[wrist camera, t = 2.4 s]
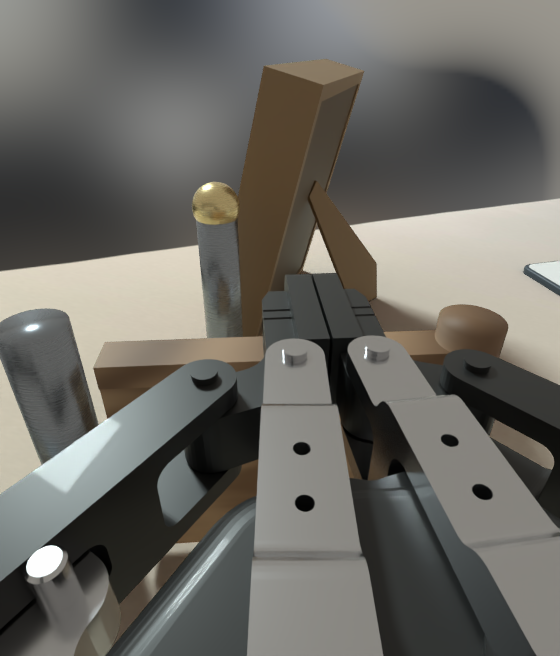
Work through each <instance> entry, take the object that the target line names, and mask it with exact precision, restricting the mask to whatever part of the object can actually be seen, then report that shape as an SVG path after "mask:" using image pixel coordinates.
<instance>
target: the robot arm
mask: <svg viewBox="0 0 560 656" xmlns="http://www.w3.org/2000/svg"><path fill="white" fill-rule="evenodd" d="M262 330H263V353H264V358H263V359H262V360H261V361H260V362H259V363H258V364H256V365H255V366H253V367H251V368H248V369H245V370H242V371H238V372H236V371H235V369H234V368H233V367H232V366H231V365H229V364H228V363H226V362H223V361H220V360H215V359H203V360H197V361H193V362H190V363H188V364H186V365H184V366H182V367H181V368H179V369H178V370H176V371H175V372H174V373H172V374H171V375H169V376H168V377H167V378H165V379H164V380H162V381H161V382H159V383H158V384H157V385H155V386H154V387H152V388H151V389H149V390H148V391H147V392H145V393H144V394H142V395H141V396H139V397H138V398H137V399H135V400H134V401H132V402H131V403H130V404H128V405H127V406H125V407H124V408H122V409H121V410H120V411H118V412H117V413H115V414H114V415H112V416H111V417H110V418H108V419H107V420H105V421H104V422H102V423H101V424H100V425H98V426H97V427H95V428H94V429H93V430H91V431H90V432H88V433H87V434H85V435H84V436H83V437H81V438H80V439H78V440H77V441H75V442H74V443H73V444H71V445H70V446H68V447H67V448H65V449H64V450H63V451H61V452H60V453H58V454H57V455H55V456H54V457H53V458H51V459H50V460H48V461H47V462H46V463H44V464H43V465H41V466H40V467H38V468H37V469H36V470H34V471H33V472H31V473H30V474H28V475H27V476H26V477H24V478H23V479H21V480H20V481H18V482H17V483H16V484H14V485H13V486H11V487H10V488H9V489H7V490H6V491H4V492H3V493H1V494H0V656H560V385H558V384H556V383H553V382H551V381H549V380H547V379H544V378H542V377H540V376H538V375H535V374H533V373H531V372H529V371H526V370H524V369H522V368H520V367H517V366H515V365H513V364H511V363H508V362H506V361H504V360H502V359H499V358H497V357H495V356H493V355H490V354H488V353H485V352H482V351H477V350H471V349H460V350H455V351H452V352H450V353H448V354H447V355H446V356H445V358H444V362H443V365H437V364H431V363H425V362H419V361H415V360H412V358H411V357H410V355H409V354H408V352H407V351H406V349H405V348H404V347H403V346H402V345H401V344H400V343H398V342H397V341H395V340H392V339H390V338H387V337H386V336H385V334H384V332H383V330H382V328H381V326H380V324H379V322H378V320H377V318H376V316H374V312H373V310H372V308H371V306H370V304H369V302H368V300H367V298H366V296H364V295H363V294H361V293H360V292H359V291H357V290H356V289H343V287H342V284H341V282H340V280H339V277H338V275H337V273H322V274H311V275H310V274H291V275H285V282H284V291H269V292H268V293H267V294H266V295H265V297H264V298H263V299H262ZM339 415H340V418H341V422H340V418H339ZM495 419H496V420H498V421H500V422H502V423H503V424H505V425H507V426H509V427H511V428H513V429H515V430H517V431H519V432H520V433H522V434H524V435H526V436H528V437H530V438H532V439H534V440H535V441H537V442H539V443H541V444H543V445H544V446H545V447H547V448H548V449H549V451H550V452H551V453H552V455H553V457H554V467H553V469H552V470H550V469H546V468H544V467H542V466H540V465H538V464H537V463H535V462H533V461H531V460H529V459H528V458H526V457H524V456H522V455H521V454H519V453H517V452H515V451H513V450H512V449H510V448H508V447H506V446H505V445H503V444H501V443H499V442H497V441H496V440H494V439H492V438H490V437H489V435H490V432H491V429H492V426H493V423H494V420H495ZM345 454H346V455H345ZM346 457H347V460H348V462H349V465H350V468H351V471H352V473H353V476H354V478H349V473H348V467H347V461H346ZM258 459H259V460H258ZM255 460H258V480H257V496H254V497H252V498H250V499H247V500H246V501H244V502H242V503H240V504H238V505H237V506H235V507H234V508H233V509H231V510H230V511H228V512H227V513H226V514H225V515H224V516H223V517H222V518H221V519H219V520H218V521H217V522H216V523H215V524H214V525H213V526H212V528H211V529H210V530H209V531H208V532H207V533H206V535H205V536H204V537H203V538H202V539H201V541H200V542H199V543H198V544H197V546H196V547H195V548H194V549H193V550H192V552H191V553H190V554H189V555H188V556H187V558H186V559H185V560H184V561H183V562H182V564H181V565H180V566H179V567H178V569H177V570H176V571H175V572H174V573H173V575H172V576H171V577H170V578H169V579H168V581H167V582H166V583H165V584H164V585H163V587H162V588H161V589H160V590H159V592H158V593H157V594H156V595H155V596H154V598H153V599H152V600H151V601H150V602H149V604H148V605H147V606H146V607H145V608H144V610H143V611H142V612H141V613H140V614H139V616H138V617H137V618H136V619H135V621H134V622H133V623H132V624H131V625H130V627H129V628H128V629H127V630H126V631H125V633H124V634H123V635H122V636H121V637H120V639H119V640H118V641H117V642H116V643H115V645H114V646H113V647H112V645H113V643H114V641H115V639H116V637H117V634H118V631H119V627H120V622H121V612H120V607H119V604H120V603H121V602H122V601H123V599H124V598H125V597H126V596H127V595H128V594H129V593H130V592H131V591H132V590H133V589H134V588H135V587H136V585H137V584H138V583H139V582H140V581H141V580H142V579H143V578H144V577H145V576H146V575H147V574H148V573H149V572H150V570H151V569H152V568H153V567H154V566H155V565H156V564H157V563H158V562H159V561H160V560H161V559H162V558H163V556H164V555H165V554H166V553H167V552H168V551H169V550H170V549H171V548H172V547H173V546H174V545H175V544H176V542H177V541H178V540H179V539H180V538H181V537H182V536H183V535H184V534H185V533H186V532H187V531H188V530H189V529H190V527H191V526H192V525H193V524H194V523H195V522H196V521H197V520H198V519H199V518H200V517H201V516H202V515H203V513H204V512H205V511H206V510H207V509H208V508H209V507H210V506H211V505H212V504H213V503H214V502H215V501H216V499H217V498H218V497H219V496H220V495H221V494H222V493H223V492H224V491H225V490H226V489H227V488H228V487H229V486H230V484H231V483H232V482H233V481H234V480H235V479H236V478H237V477H238V475H239V474H240V472H241V468H242V465H243V464H246V463H249V462H252V461H255ZM111 647H112V648H111ZM110 648H111V649H110ZM109 650H110V651H109ZM108 651H109V652H108ZM107 652H108V653H107Z"/></svg>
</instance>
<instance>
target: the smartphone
mask: <svg viewBox="0 0 560 656" xmlns="http://www.w3.org/2000/svg"><path fill="white" fill-rule="evenodd" d="M523 273H524V274H525V275H527V276H529V277H530V278H532V279H533V280H535V281H537V282H538V283H540V284H541V285H543V286H545V287H546V288H548V289H549V290H551V291H553V292H554V293H556V294H557V295H559V296H560V261H553V262H545V263H536V264H529V265H526V266H525V267H524V271H523Z"/></svg>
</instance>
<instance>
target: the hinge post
mask: <svg viewBox="0 0 560 656" xmlns="http://www.w3.org/2000/svg"><path fill="white" fill-rule="evenodd" d="M0 359H1V362H2V364H3V367H4V369H5V372H6V375H7V377H8V380H9V382H10V385H11V387H12V390H13V392H14V395H15V398H16V400H17V403H18V405H19V408H20V410H21V413H22V416H23V418H24V421H25V423H26V426H27V428H28V431H29V434H30V436H31V439H32V441H33V444H34V446H35V449H36V452H37V454H38V457H39V459H40V462H41V464H42V465H43V464H44V463H46V462H47V461H48V460H50V459H51V458H53V457H54V456H55V455H57V454H58V453H60V452H61V451H63V450H64V449H65V448H67V447H68V446H70V445H71V444H73V443H74V442H75V441H77V440H78V439H80V438H81V437H83V436H84V435H85V434H87V433H88V432H90V431H91V430H93V429H94V428H95V427H97V426H98V425H99V424H98V420H97V417H96V413H95V410H94V406H93V402H92V399H91V395H90V392H89V388H88V384H87V381H86V377H85V373H84V370H83V366H82V363H81V359H80V355H79V352H78V348H77V344H76V341H75V337H74V334H73V330H72V326H71V323H70V319H69V316H68V315H67V314H66V313H65V312H63V311H60V310H56V309H35V310H29V311H25V312H21V313H18V314H16V315H13V316H11V317H9V318H7V319H5V320H3V321H2V322H0Z"/></svg>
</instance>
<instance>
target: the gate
mask: <svg viewBox="0 0 560 656" xmlns="http://www.w3.org/2000/svg"><path fill="white" fill-rule="evenodd" d="M507 331H508V324H507V322H506V321H505V319H504V318H503V317H501V316H500V315H498V314H497V313H495V312H493V311H491V310H488V309H485V308H482V307H478V306H473V305H452V306H448V307H445V308H443V309H442V310H441V311H440V313H439V317H438V322H437V326H436V330H421V331H394V332H384V334H385V336H386V337H387V338H390V339H392V340H395V341H397V342H398V343H400V344H401V345H402V346H403V347H404V348H405V349H406V351H407V352H408V354H409V355H410V357H411V358H412V360H415V361H419V362H425V363H431V364H437V365H443V362H444V358H445V356H446V355H447V354H448V353H450V352H452V351H455V350H460V349H471V350H477V351H482V352H485V353H488V354H490V355H493V356H495V357H497V358H499V356H500V353H501V350H502V347H503V343H504V340H505V337H506V334H507ZM263 358H264V353H263V336H258V337H230V338H203V339H176V340H148V341H121V342H105V343H104V345H103V347H102V350H101V352H100V354H99V356H98V358H97V361H96V363H95V365H94V367H93V369H94V372H95V376H96V380H97V384H98V388H99V390H100V392H101V396H102V399H103V403H104V407H105V411H106V415H107V419H108V418H110V417H111V416H112V415H114V414H115V413H117V412H118V411H120V410H121V409H122V408H124V407H125V406H127V405H128V404H130V403H131V402H132V401H134V400H135V399H137V398H138V397H139V396H141V395H142V394H144V393H145V392H147V391H148V390H149V389H151V388H152V387H154V386H155V385H157V384H158V383H159V382H161V381H162V380H164V379H165V378H167V377H168V376H169V375H171V374H172V373H174V372H175V371H176V370H178V369H179V368H181V367H182V366H184V365H186V364H188V363H190V362H193V361H197V360H203V359H215V360H220V361H223V362H226V363H228V364H229V365H231V366H232V367H233V368H234V369H235V371H236V372H238V371H242V370H245V369H248V368H251V367H253V366H255V365H256V364H258V363H259V362H260V361H261V360H262V359H263ZM339 418H340V415H339ZM340 422H341V418H340ZM345 455H346V454H345ZM258 460H259V459H258ZM258 460H255V461H252V462H249V463H246V464H243V465H242V468H241V472H240V474H239V475H238V477H237V478H236V479H235V480H234V481H233V482H232V483H231V484H230V486H229V487H228V488H227V489H226V490H225V491H224V492H223V493H222V494H221V495H220V496H219V497H218V498H217V499H216V501H215V502H214V503H213V504H212V505H211V506H210V507H209V508H208V509H207V510H206V511H205V512H204V513H203V515H202V516H201V517H200V518H199V519H198V520H197V521H196V522H195V523H194V524H193V525H192V526H191V527H190V529H189V530H188V531H187V532H186V533H185V534H184V535H183V536H182V537H181V538H180V539H179V540H178V541H177V542H176V543H189V542H200V541H201V539H202V538H203V537H204V536H205V535H206V533H207V532H208V531H209V530H210V529H211V528H212V526H213V525H214V524H215V523H216V522H217V521H218V520H219V519H221V518H222V517H223V516H224V515H225V514H226V513H227V512H228V511H230V510H231V509H233V508H234V507H235V506H237V505H238V504H240V503H242V502H244V501H246V500H247V499H250V498H252V497H254V496H257V480H258ZM346 461H347V467H348V473H349V478H354V476H353V473H352V471H351V468H350V465H349V462H348V460H347V457H346Z"/></svg>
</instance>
